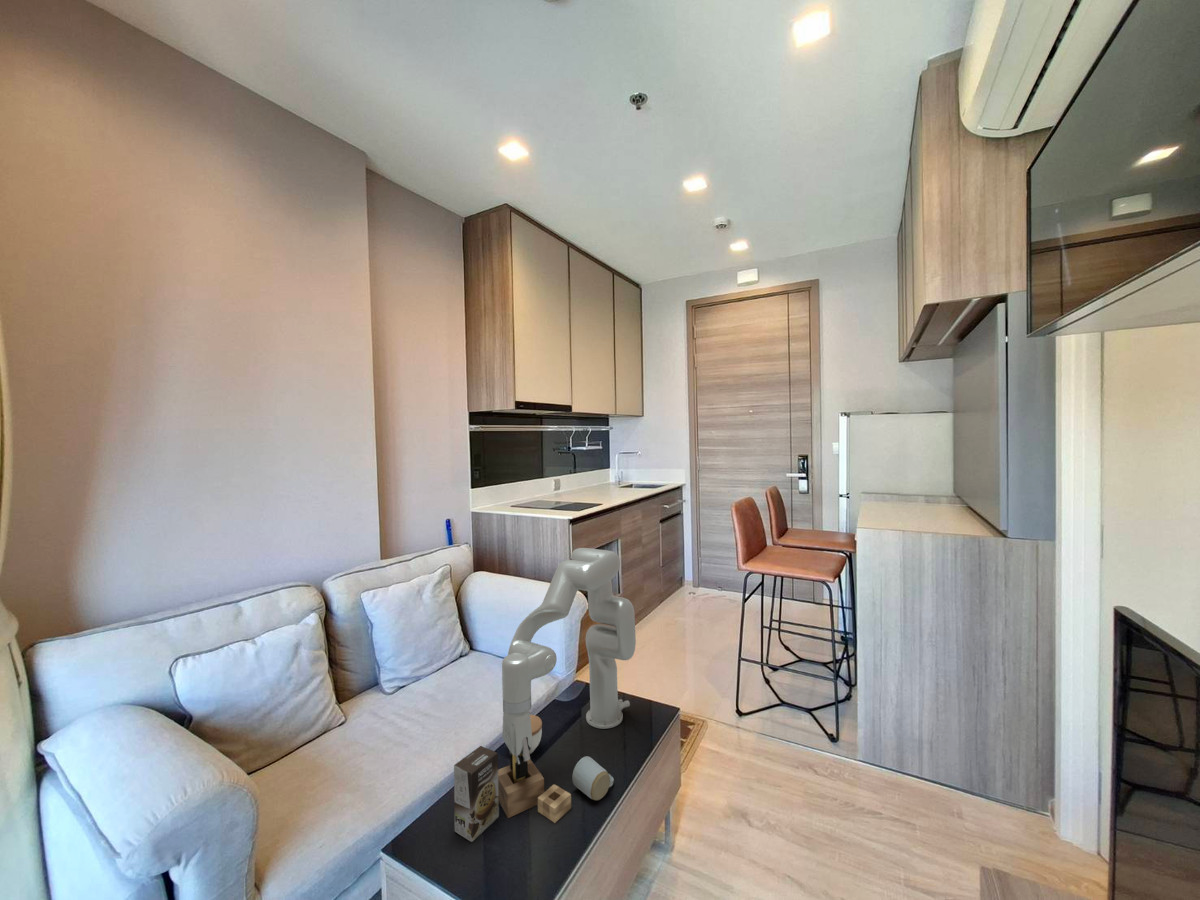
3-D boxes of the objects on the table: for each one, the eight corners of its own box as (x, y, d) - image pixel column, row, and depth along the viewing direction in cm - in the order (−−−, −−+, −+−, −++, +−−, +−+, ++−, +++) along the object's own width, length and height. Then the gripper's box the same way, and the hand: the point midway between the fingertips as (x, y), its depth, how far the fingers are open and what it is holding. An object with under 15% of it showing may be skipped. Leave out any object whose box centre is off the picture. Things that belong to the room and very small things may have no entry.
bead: (529, 778, 127) (529, 757, 127) (544, 801, 119) (543, 778, 119) (494, 793, 122) (494, 771, 122) (508, 818, 114) (507, 794, 114)
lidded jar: (546, 738, 145) (545, 709, 145) (538, 761, 135) (537, 729, 135) (513, 737, 146) (512, 708, 147) (502, 759, 136) (502, 728, 136)
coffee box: (472, 843, 107) (470, 774, 107) (453, 832, 110) (452, 764, 110) (500, 816, 114) (498, 752, 114) (482, 806, 118) (480, 744, 118)
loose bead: (554, 797, 120) (554, 784, 120) (571, 807, 116) (570, 794, 117) (537, 811, 116) (537, 797, 116) (554, 823, 112) (554, 808, 112)
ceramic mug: (592, 808, 116) (592, 778, 116) (571, 792, 122) (571, 763, 122) (620, 787, 123) (620, 758, 124) (600, 773, 129) (599, 745, 130)
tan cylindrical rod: (511, 786, 121) (510, 735, 121) (522, 781, 123) (521, 731, 123) (515, 793, 118) (514, 741, 119) (527, 788, 120) (526, 737, 120)
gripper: (493, 693, 126) (495, 760, 126) (515, 722, 112) (516, 797, 112) (519, 685, 130) (520, 750, 130) (542, 712, 116) (544, 785, 116)
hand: (518, 771), depth 121 cm, fingers closed on tan cylindrical rod, 3 cm apart
